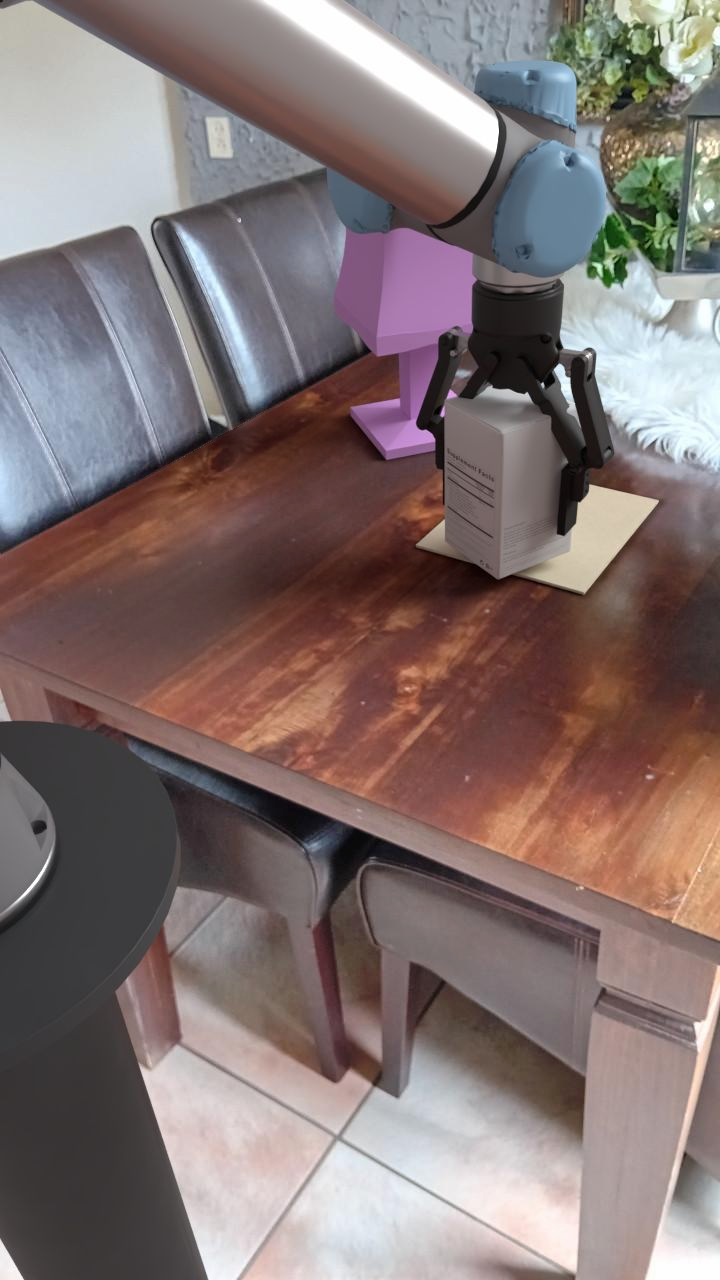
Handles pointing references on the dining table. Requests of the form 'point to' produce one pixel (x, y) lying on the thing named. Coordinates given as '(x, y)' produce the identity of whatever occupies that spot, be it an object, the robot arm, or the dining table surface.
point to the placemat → (576, 539)
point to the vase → (403, 321)
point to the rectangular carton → (502, 481)
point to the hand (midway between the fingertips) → (508, 514)
